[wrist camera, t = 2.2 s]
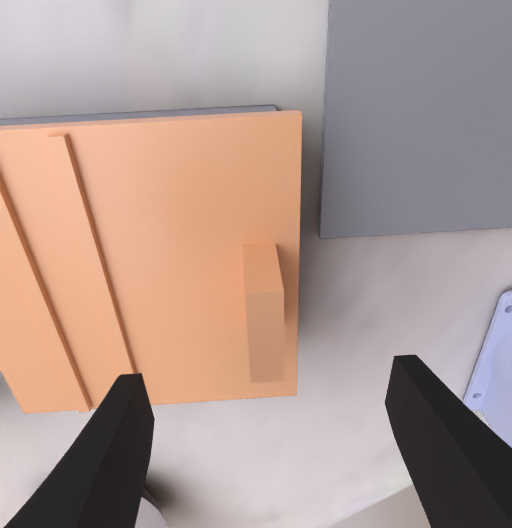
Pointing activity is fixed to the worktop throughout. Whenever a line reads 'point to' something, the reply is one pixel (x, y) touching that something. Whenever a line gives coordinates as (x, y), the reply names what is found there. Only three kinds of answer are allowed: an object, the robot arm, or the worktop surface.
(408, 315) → the worktop surface
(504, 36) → the mat
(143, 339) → the lid
